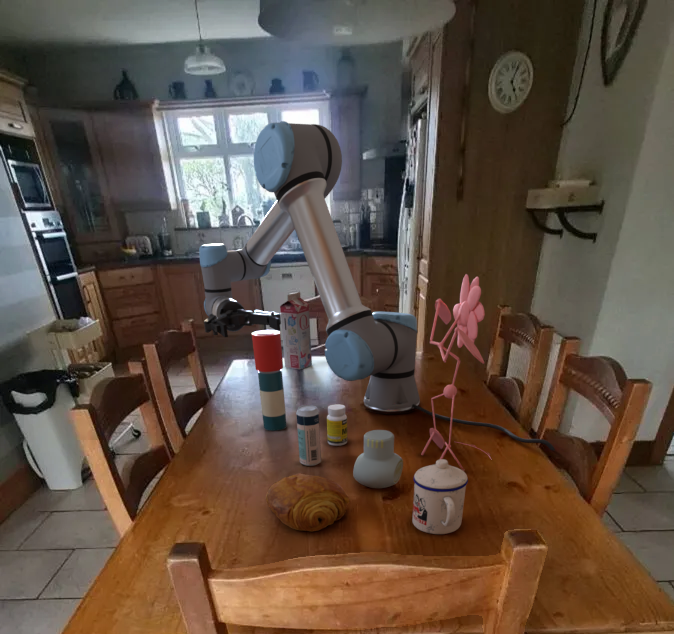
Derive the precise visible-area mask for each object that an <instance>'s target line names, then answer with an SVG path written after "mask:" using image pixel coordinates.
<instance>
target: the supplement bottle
mask: <svg viewBox="0 0 674 634" xmlns="http://www.w3.org/2000/svg"><path fill="white" fill-rule="evenodd" d="M326 428H327V430H326V434H327V437H326V438H327V444H328V445H330V446H333V447H334V446H336V447H337V446H339V447H341V446H344V445H346V444H347V443H348V416H347V414H346V406H345V405H344V404H339V403H337V404H330V405H328V406H327V415H326Z"/></svg>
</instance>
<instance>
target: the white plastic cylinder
mask: <svg viewBox="0 0 674 634" xmlns="http://www.w3.org/2000/svg"><path fill="white" fill-rule="evenodd" d="M295 414H296V427H297V441H298V455H299V463H300V464H302V465H303V466H307V467H314V466H317V465H318V464H320V463H321V462H322V452H321V451H322V449H321V433H320V432H321V431H320V411H319V409H318V407H317V406H315V405H314V404H313V405H312V404H304V405H303V404H302V405H300V406H298V408H297V411H296V413H295Z"/></svg>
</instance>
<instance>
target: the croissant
mask: <svg viewBox="0 0 674 634" xmlns="http://www.w3.org/2000/svg"><path fill="white" fill-rule="evenodd" d="M265 502H266V505H267V506H268V507H269V509H270V511H271V512H272V514H275V516H276V517H277V518H278V520H280V521H281V523H282V524H283V525H285V526H287V527H289V528H291V529H293V530H296V531H301V532H302V531H304V532H317V531H318V532H319V531H320V530H323V529H325V528H327V526H331V525H333V524H334V523H335V521H338V520H340V519H341V518H342V517H344V515H345V514H346V511H348V510H347V507H348V505H349V504H350V502H351V501H350V496H349V495H348V493H347V492H346V491H345V490H344V488H343V487H342V485H340V484H339V483H337V482H335V481H334V480H332V479H328V478H327V477H323V476H321V475H309V474H303V472H299V473H296V474H292V475H289V476H284V477H282V478H281V479H280V480H278V481H276V482H274V483H273V484H272V485H271V486H269V488H268V490H267V493H266V494H265Z"/></svg>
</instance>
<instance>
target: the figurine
mask: <svg viewBox="0 0 674 634" xmlns="http://www.w3.org/2000/svg"><path fill="white" fill-rule="evenodd" d="M481 296H482V288H481V286H480V277H479V276H475V278H473V279H472V281H471V283H470V278H469V274H467V273H465V275H464V277H463V279H462V283H461V288H460V293H459V303H456V304H454V306H453V309H452V313H451V310H450V308H449V306H448V305H447V304H446V303H445V302H444V301H443V300H442V298H437V299H436V300H435V303H434V310H435V314H434V319H433V324H432V329H431V332H430V338H429V344H430V345H434V346H437V348H438V349H439V351H440V355H441V358H442V361H443V363H447V360H448V358H449V355H450V356H451V357H452V358H454V359H455V360H456V361H457V362H456V366H455V371H454V374H453V379H452V383H451V384H447V385H446V386H445V387H444V388H443V393H441V394H438V395H435V396H433V397H431V399H430V401H431V409H432V411H431V412H432V413H433V416H432V419H433V427H430V428H429V436H430V437H429V439H428V440H427V442H426V444H425V446H424V448H423V449H422V452H421V453H420V455H421V456H424V455H425V453H426V451H427V450H428V448H429V445H430V444H431V442H432V441H433V443H435V445H436V446H437V447H438V448H439V449H440V450H442V449H443V448H444V446H446V447H445V448H444V450H443V452H442V454H441V456H440V457H439V459H444V457H445V456H446V454H447V452H448V451H449V453H450V454H451V456H452V457H453V459H454V461H456V463H457V464H458V466H459V468H460V469H461V470H462V471H464V472H465V468H464V467H463V466H462V464H461V462H460V461H459V459H458V458H457V456H456V454H455V453H454V451H453V449H451V448H452V445H451V443H452V442H451V441H452V429H453V422H452V420H453V418H454V405H455V398H456V395H457V394H458V389H457V387H456V386H455V382H456V380H457V379H456V378H457V375H458V372H459V369H460V365H461V359H460V357H459V356H457V355H456V354H455V353H454V352H452V351H451V350H452V348H453V345H454V342H455V340H456V338H457V343H456V344H457V348H458V349H461V348H462V347H463V346H465V348H466V349H467V351H469V352H470V354H471V355H472V356H473V357H474V358H475V359H476V360H477V361H478V362H479V363H481V364H482V365H484V364H485V361H484V358H483V356H482V355H481V352H480V350H479V349H478V347H477V346H476V344H475V341H476V339H477V338H478V333H479V326H478V323H481V322H482V321H483V320H484V319H485V315H486V313H485V312H486V311H485V307H484V305H483V304H482V302H481V301H480V300H481V299H480V298H481ZM452 314H453V319H454V322H453V323H452V325H451V326H450V328H449V329H448V330H447V332H446V333H445V335H444V337H443V339H442V340H441V341H439V342H438V341H434V336H435V330H436V326H437V322H438V317H439V318H440V319H441V321H442V322H443V323H444V325H448V324H449V323H450V322H451V321H452ZM456 325H457V326H456ZM453 330H454V333H453V335H452V338H451V340H450V343H449V345H448V348H447V347H445V346H444V345H445V343H446V340H447V339H448V337H449V336H450V335H451V333H452V331H453ZM442 396H444V397H445V398H447V400H448V399H449V400H451V399H452V400H451V410H450V418H451V421H449V423H450V424H449V438H448V443H447V441H445V439H444V437H443V435H442V433H440V431H439V430H438V429H437V427H436V417H435V415H434V413H435V407H434V406H435V405H434V400H435V399H438V398H440V397H442ZM455 443H458V444H461V445H466V446H469V447H473V448H475V449H478V450H480V451H481V452H483V453H485V454H486V455H487V456H488V457H489V459H492V458H491V456H490V454H489V453H488V452H487V451H484V450H483V449H481V448H479V447H477V446H476V445H475V444H468V443H464V442H459V441H455Z"/></svg>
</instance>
